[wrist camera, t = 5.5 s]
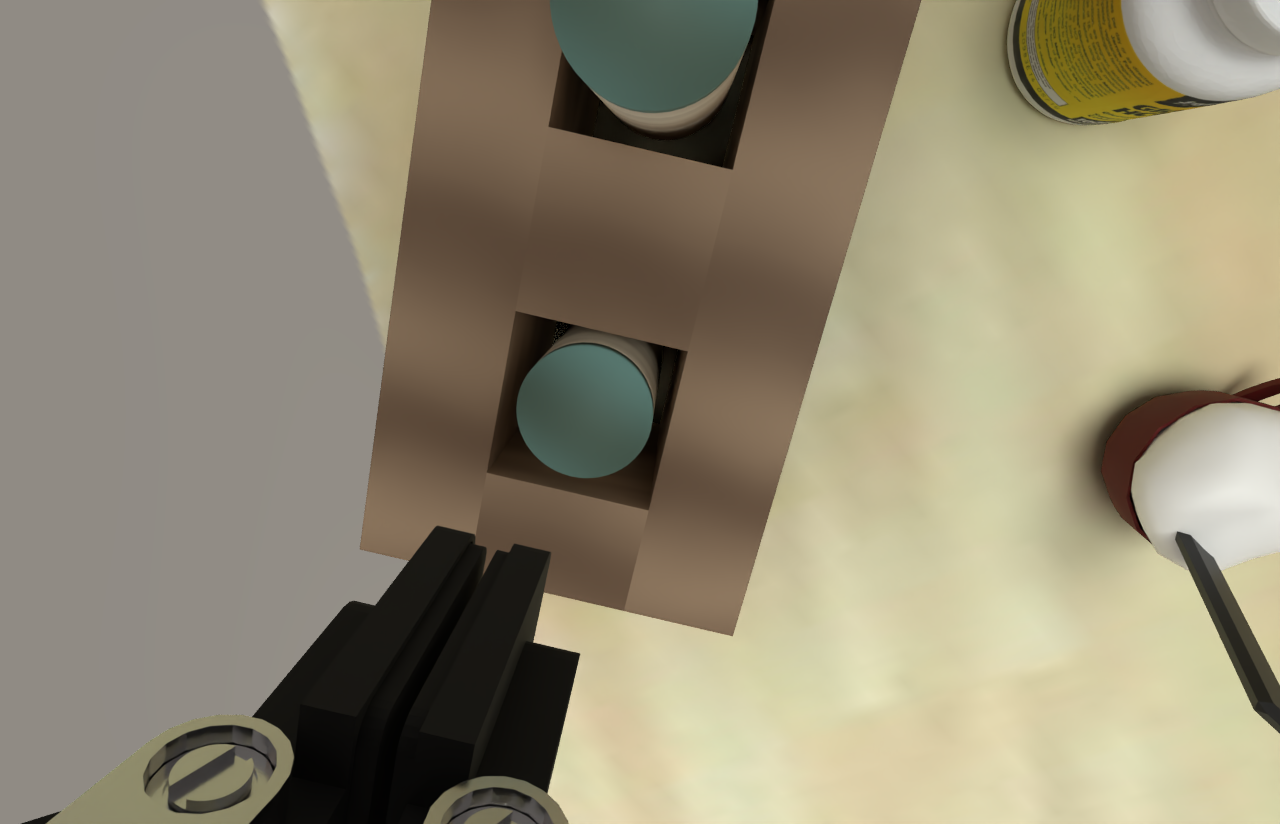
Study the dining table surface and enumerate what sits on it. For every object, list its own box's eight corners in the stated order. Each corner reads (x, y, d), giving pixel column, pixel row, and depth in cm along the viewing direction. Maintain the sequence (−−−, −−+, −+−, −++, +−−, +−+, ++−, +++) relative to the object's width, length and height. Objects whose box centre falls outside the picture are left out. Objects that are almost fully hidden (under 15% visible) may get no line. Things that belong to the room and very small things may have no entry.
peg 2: (574, 293, 30) (529, 332, 22) (673, 316, 30) (666, 364, 22) (555, 389, 31) (505, 460, 23) (650, 411, 31) (636, 491, 23)
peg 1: (615, -18, 22) (571, -145, 14) (747, 13, 22) (783, -95, 14) (588, 124, 24) (532, 84, 15) (714, 153, 24) (728, 130, 15)
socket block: (541, -130, 26) (469, -288, 18) (879, -51, 26) (971, -170, 18) (447, 455, 32) (359, 549, 24) (721, 519, 33) (732, 636, 24)
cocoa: (1235, 337, 30) (1604, 401, 18) (1285, 475, 31) (1662, 620, 19) (1003, 443, 31) (1205, 567, 19) (1058, 572, 32) (1281, 763, 20)
